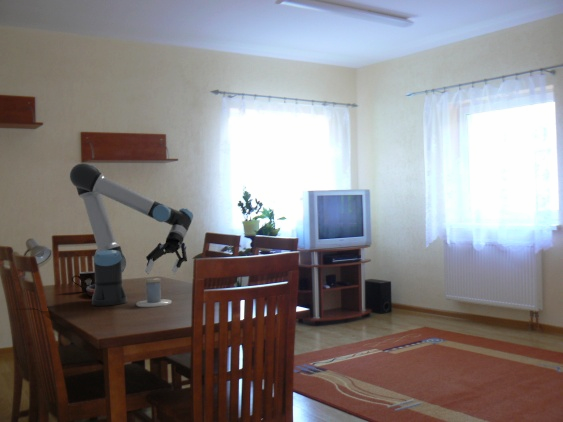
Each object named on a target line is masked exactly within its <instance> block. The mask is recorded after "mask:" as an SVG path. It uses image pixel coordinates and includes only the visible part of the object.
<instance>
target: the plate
mask: <svg viewBox="0 0 563 422" xmlns="http://www.w3.org/2000/svg"><path fill="white" fill-rule="evenodd" d="M135 303H136V307H140V308H155V307H157V308H158V307H165V306H168V305H171V304H172V300H171V299H165V298H161V302H158V303H147V299H145V300H140V301H137V302H135Z"/></svg>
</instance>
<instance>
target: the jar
mask: <svg viewBox="0 0 563 422" xmlns="http://www.w3.org/2000/svg"><path fill="white" fill-rule="evenodd" d="M161 281H162V280H161V277H156V278H155V277H152V278H151V277H150V278H146V279H145V283H146V284H145V285H146V286H145V287H146V300H147V303H158V302H161V299H162V291H161V289H162V288H161Z"/></svg>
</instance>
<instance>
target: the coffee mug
mask: <svg viewBox="0 0 563 422" xmlns="http://www.w3.org/2000/svg"><path fill="white" fill-rule="evenodd" d="M78 274H79V275H73V276H72V277H71V282H72V283H73V284H75V285H76V286H78V287H80V288H81V293H88V292H87V290H86V288H87V287H88V286H90V285H94V284H95V271H82V272H79V273H78ZM75 277H77V278H78V279H79V280H80V284H79V283H76V282H75V281H74V278H75Z"/></svg>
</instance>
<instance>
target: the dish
mask: <svg viewBox="0 0 563 422" xmlns="http://www.w3.org/2000/svg"><path fill="white" fill-rule="evenodd" d="M86 290H87V292H86V293H87V294H88V296H90V297H93V294H94V290H95V284H94V285H90V286H88V287H87V288H86Z"/></svg>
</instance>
